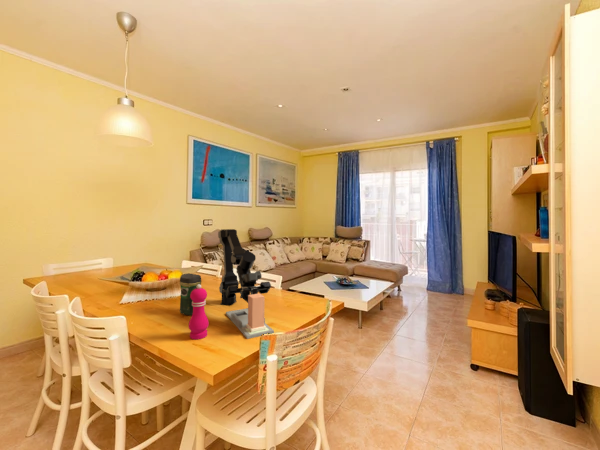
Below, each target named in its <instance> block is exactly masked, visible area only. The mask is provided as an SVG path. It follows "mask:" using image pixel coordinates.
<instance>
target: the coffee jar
mask: <svg viewBox="0 0 600 450" xmlns="http://www.w3.org/2000/svg"><path fill="white" fill-rule="evenodd" d="M201 276H202V275H200V274H196V273H195V274H194V273H182V274H181V275H180V277H179V285H180V286H179V287H180V302H179V313H180V314H183V315H184V316H192V314H193V306H192V301H193V300H192V299H191V298H190V295H191V292H192V291H193V290H194V289H196V286H197V285H198V284H200V285H201V286H202V277H201Z"/></svg>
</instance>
